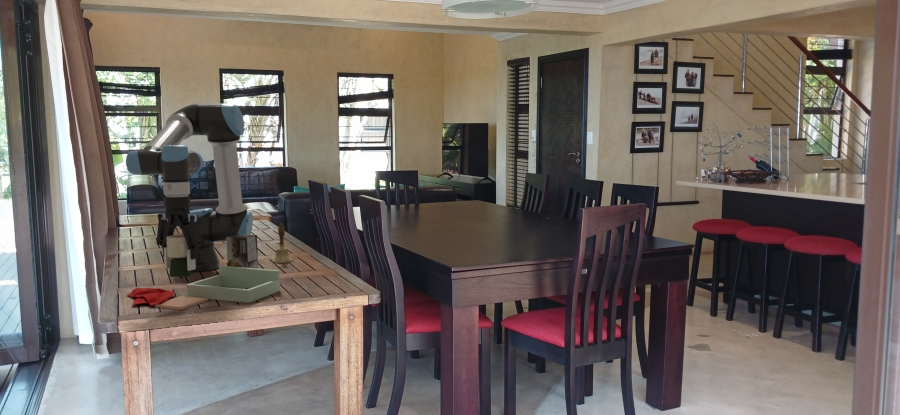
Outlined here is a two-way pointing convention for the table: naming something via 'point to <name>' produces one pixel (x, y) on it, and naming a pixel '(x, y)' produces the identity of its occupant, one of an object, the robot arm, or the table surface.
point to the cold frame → (237, 284)
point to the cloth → (150, 295)
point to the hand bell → (282, 248)
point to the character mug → (178, 256)
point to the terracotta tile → (181, 302)
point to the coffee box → (242, 251)
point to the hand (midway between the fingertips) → (180, 268)
